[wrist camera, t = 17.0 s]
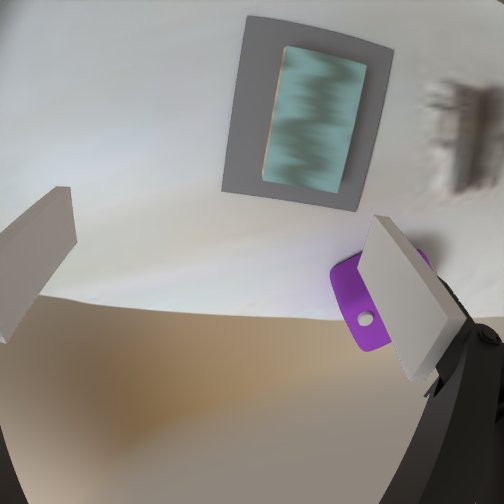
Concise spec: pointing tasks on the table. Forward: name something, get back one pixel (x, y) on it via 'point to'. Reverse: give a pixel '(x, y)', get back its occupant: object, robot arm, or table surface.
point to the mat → (262, 101)
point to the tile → (312, 119)
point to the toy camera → (360, 304)
